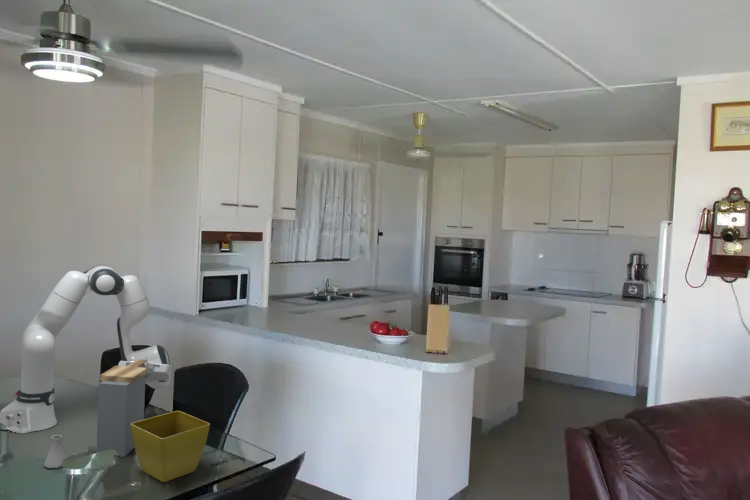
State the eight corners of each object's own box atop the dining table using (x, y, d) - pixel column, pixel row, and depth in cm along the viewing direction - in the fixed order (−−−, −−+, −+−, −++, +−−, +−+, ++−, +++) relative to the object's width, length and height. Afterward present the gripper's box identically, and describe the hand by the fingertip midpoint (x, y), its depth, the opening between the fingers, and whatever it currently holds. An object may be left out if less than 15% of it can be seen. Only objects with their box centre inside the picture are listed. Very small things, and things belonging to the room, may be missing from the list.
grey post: (96, 454, 213) (98, 383, 211) (117, 437, 229) (119, 370, 227) (124, 457, 213) (126, 385, 211) (143, 439, 229) (145, 372, 227)
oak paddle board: (99, 380, 214) (100, 375, 214) (127, 363, 236) (127, 358, 236) (133, 383, 214) (133, 377, 214) (157, 365, 236) (157, 360, 236)
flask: (57, 471, 199) (58, 442, 199) (38, 468, 201) (39, 439, 200) (72, 462, 206) (73, 434, 206) (54, 459, 208) (54, 431, 207)
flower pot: (127, 471, 203) (129, 422, 201) (176, 454, 218) (178, 409, 217) (160, 490, 191) (162, 439, 190) (209, 471, 206) (211, 424, 205)
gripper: (127, 362, 246) (114, 353, 234) (176, 366, 246) (165, 357, 233) (123, 378, 244) (109, 369, 231) (172, 382, 243) (162, 373, 231)
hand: (138, 363), depth 232 cm, fingers closed on oak paddle board, 3 cm apart
